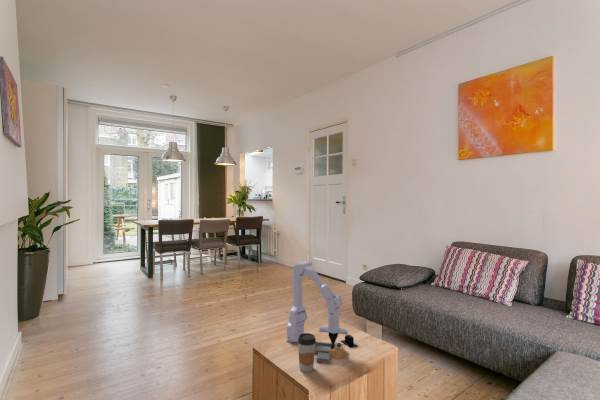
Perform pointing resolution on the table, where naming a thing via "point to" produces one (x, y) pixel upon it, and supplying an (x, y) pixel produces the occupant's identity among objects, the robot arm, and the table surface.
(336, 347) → the metal block
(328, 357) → the gray square block
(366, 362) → the table surface
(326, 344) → the rail
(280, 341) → the table surface
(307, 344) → the coffee cup
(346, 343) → the black boxy piece
